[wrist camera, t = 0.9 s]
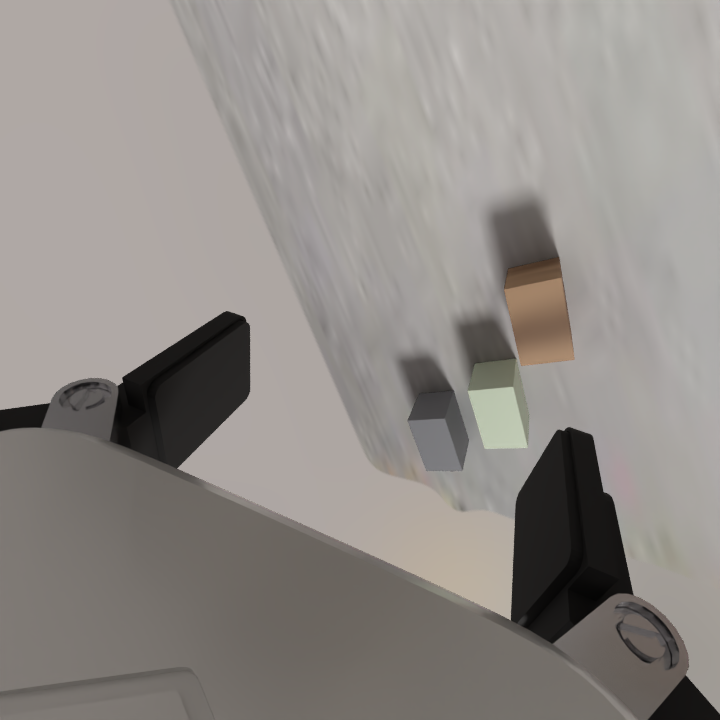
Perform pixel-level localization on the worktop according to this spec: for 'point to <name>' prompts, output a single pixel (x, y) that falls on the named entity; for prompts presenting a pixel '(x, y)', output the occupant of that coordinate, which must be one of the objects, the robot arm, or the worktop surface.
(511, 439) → the sage brick
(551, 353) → the walnut brick
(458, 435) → the charcoal brick
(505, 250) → the worktop surface
